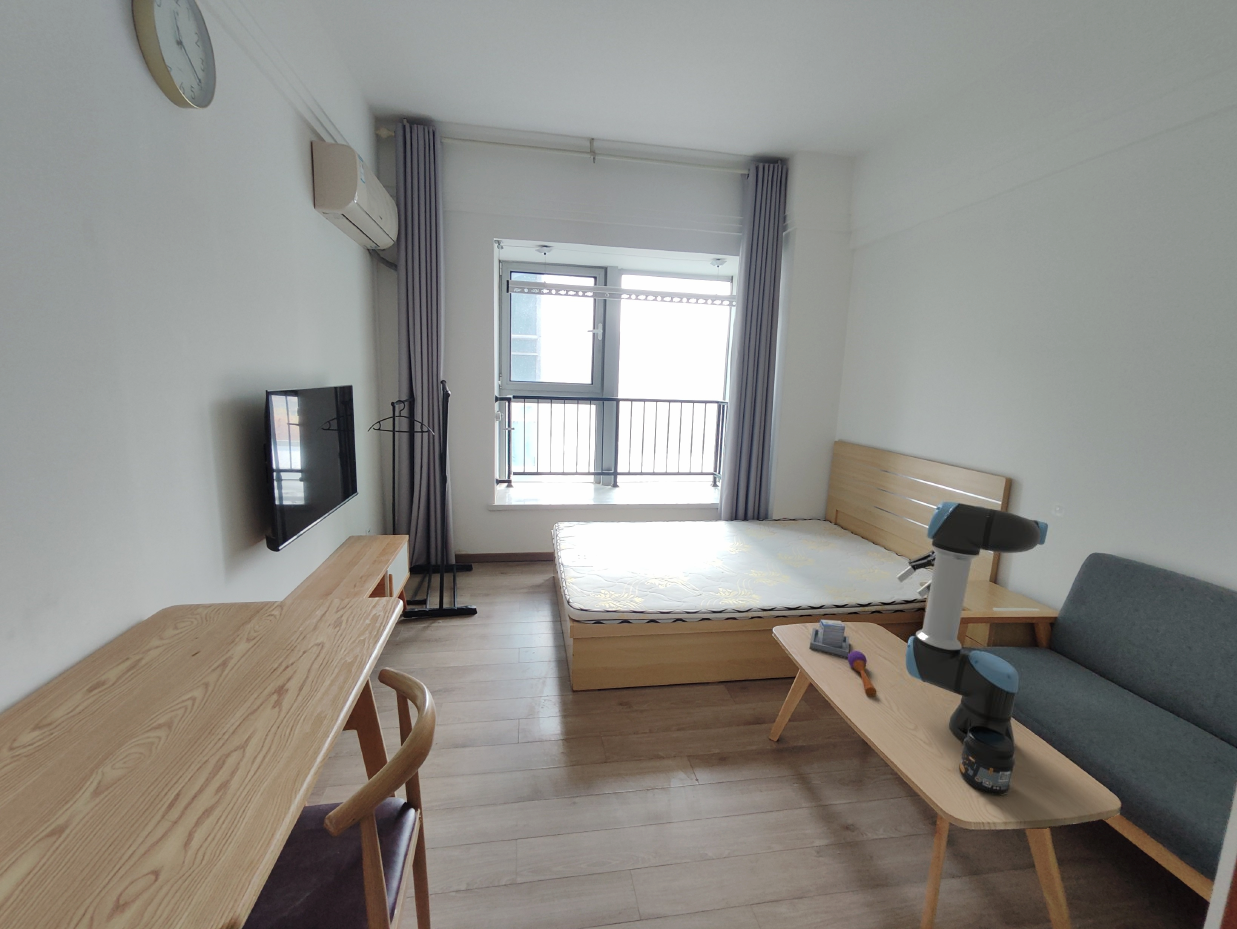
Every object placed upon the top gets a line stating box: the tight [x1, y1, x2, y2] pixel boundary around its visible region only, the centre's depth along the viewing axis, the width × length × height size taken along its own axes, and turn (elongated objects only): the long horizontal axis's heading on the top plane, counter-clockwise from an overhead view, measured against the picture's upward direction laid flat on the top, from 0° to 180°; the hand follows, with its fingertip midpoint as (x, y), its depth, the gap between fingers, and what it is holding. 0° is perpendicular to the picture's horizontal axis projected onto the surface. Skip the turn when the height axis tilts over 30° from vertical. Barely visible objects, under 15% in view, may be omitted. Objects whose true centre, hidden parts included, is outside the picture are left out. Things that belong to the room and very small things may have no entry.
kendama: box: [847, 650, 877, 697], centre depth 172 cm, size 6×6×20 cm
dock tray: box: [809, 627, 850, 659], centre depth 193 cm, size 13×13×2 cm
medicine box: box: [818, 619, 846, 647], centre depth 192 cm, size 8×4×9 cm, turn 88°
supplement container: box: [958, 726, 1016, 796], centre depth 128 cm, size 10×10×12 cm
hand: (908, 587), depth 187 cm, fingers open, 13 cm apart
